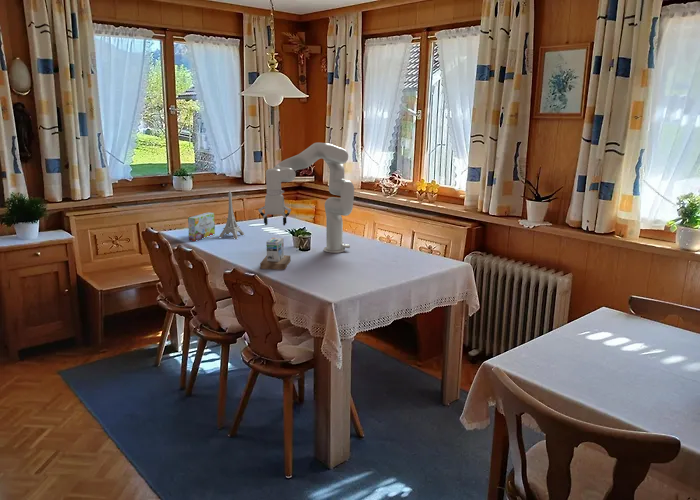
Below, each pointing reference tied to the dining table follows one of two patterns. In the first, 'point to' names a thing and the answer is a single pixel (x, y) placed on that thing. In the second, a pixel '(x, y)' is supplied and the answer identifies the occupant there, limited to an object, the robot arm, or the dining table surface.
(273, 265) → the podium
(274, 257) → the light bulb box
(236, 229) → the eiffel tower
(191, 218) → the snack box
